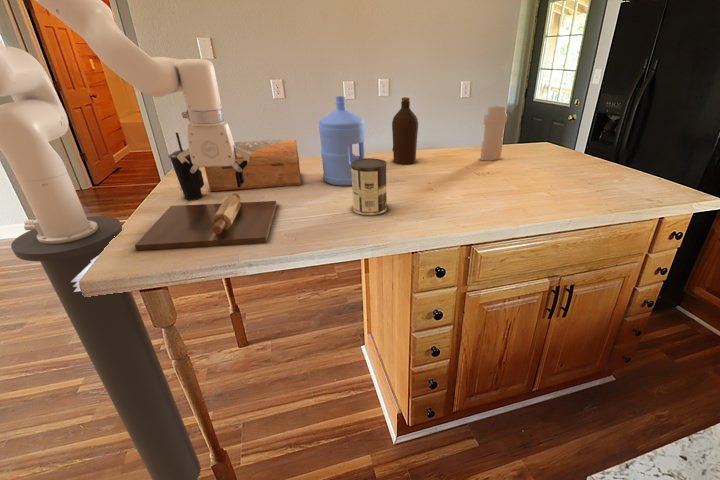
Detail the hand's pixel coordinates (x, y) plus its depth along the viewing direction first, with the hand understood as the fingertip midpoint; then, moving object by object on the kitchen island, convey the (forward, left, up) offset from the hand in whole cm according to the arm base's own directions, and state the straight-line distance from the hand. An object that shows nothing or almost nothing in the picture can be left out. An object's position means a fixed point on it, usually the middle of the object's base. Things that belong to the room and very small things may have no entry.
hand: (221, 186), depth 102 cm
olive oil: (+59, +58, -11) cm, 84 cm away
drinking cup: (-16, +24, -11) cm, 31 cm away
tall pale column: (+97, +57, -11) cm, 113 cm away
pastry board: (-4, 0, -11) cm, 11 cm away
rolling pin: (0, 0, -7) cm, 7 cm away
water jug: (+33, +36, -11) cm, 50 cm away
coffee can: (+39, +6, -11) cm, 41 cm away
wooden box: (+2, +38, -11) cm, 40 cm away
